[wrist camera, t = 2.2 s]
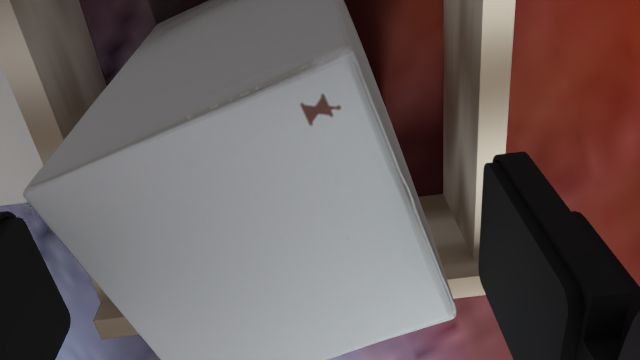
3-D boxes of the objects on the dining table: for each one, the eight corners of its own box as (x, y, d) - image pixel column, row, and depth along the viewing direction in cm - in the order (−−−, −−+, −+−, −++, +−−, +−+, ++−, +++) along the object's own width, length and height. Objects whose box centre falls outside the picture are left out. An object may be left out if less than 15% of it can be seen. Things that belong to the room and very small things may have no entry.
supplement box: (149, 22, 21) (0, 185, 10) (324, -56, 20) (362, 36, 9) (234, 173, 25) (189, 412, 14) (387, 113, 24) (468, 324, 13)
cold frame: (463, 208, 26) (505, 292, 21) (138, 247, 27) (101, 339, 22) (473, -185, 18) (544, -206, 13) (8, -124, 19) (-101, -120, 14)
